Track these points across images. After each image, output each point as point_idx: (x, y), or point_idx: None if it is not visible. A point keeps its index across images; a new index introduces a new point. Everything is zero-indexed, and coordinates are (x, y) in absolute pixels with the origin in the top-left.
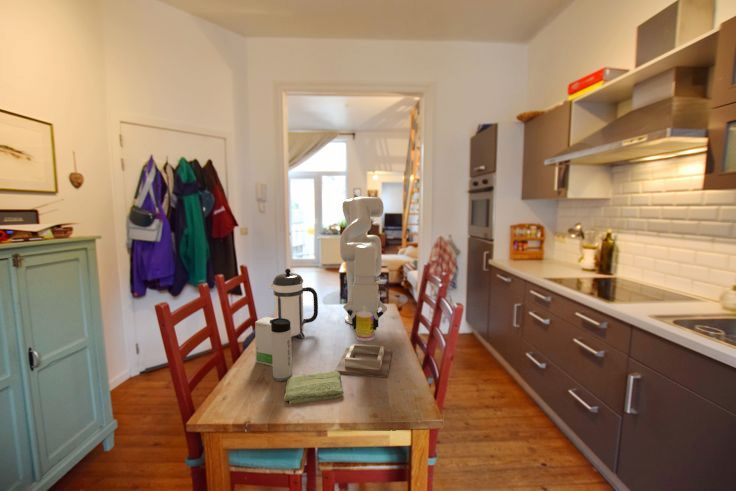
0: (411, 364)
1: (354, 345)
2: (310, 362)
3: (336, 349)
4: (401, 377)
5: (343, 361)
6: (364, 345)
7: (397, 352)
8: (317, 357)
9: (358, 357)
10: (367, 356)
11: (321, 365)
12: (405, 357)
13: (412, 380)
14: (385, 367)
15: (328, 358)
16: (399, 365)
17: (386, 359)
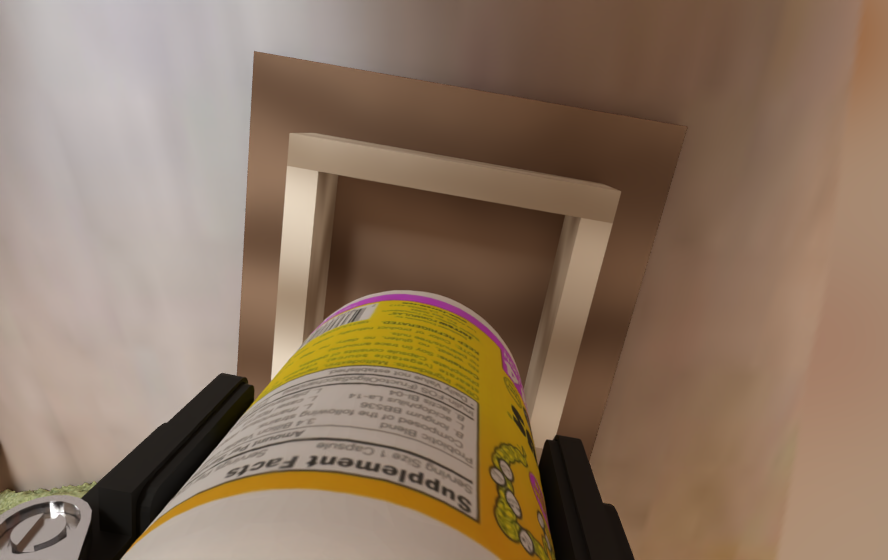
0: (792, 325)
1: (318, 175)
2: (37, 274)
3: (170, 42)
4: (668, 480)
5: (269, 313)
6: (418, 177)
7: (734, 110)
8: (58, 197)
9: (378, 252)
10: (452, 238)
11: (128, 318)
12: (780, 210)
13: (729, 513)
14: (580, 407)
15: (147, 215)
16: (693, 336)
17: (606, 292)
